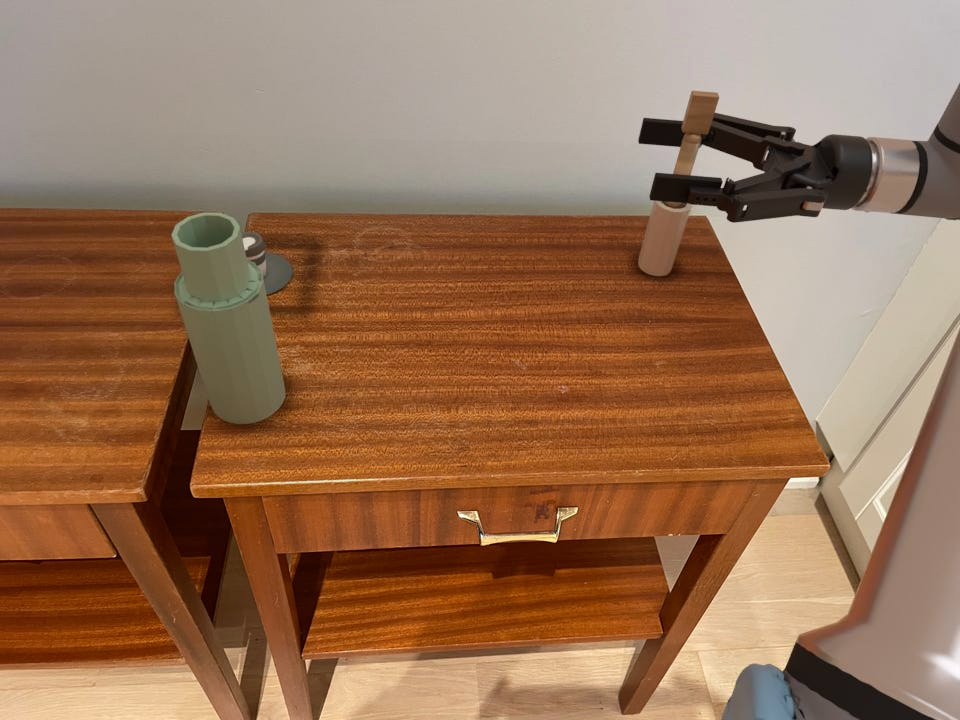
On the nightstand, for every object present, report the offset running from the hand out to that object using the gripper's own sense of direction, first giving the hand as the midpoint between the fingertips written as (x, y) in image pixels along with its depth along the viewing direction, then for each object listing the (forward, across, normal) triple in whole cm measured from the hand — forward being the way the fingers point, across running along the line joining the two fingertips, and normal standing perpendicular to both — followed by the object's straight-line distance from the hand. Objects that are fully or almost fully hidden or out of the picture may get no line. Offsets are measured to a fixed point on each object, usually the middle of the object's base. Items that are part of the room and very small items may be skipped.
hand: (646, 157), depth 76 cm
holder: (-4, 0, -14) cm, 15 cm away
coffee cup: (+41, -8, -14) cm, 44 cm away
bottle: (+37, -25, -14) cm, 47 cm away
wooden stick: (-4, 0, -14) cm, 14 cm away
